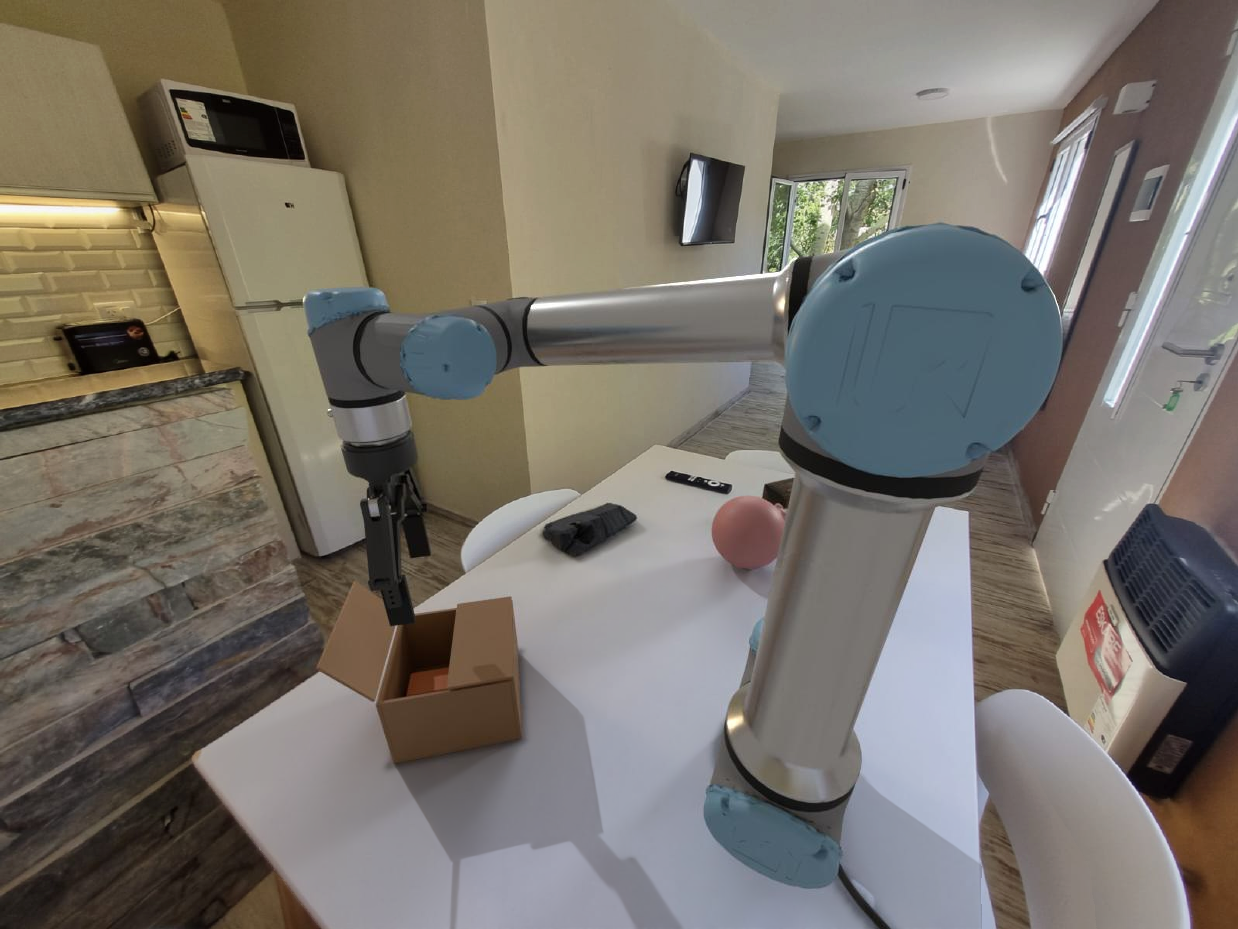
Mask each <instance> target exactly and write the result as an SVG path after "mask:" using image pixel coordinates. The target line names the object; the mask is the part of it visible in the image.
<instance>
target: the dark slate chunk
mask: <svg viewBox="0 0 1238 929" xmlns="http://www.w3.org/2000/svg"><path fill="white" fill-rule="evenodd" d="M637 519H638V516H637V514H635V513H634V512H632V511H631V510H630V509H627V508H626V507H625V506H623V505H621V504H617V503H612V502H606V503H604V504H602V505H599V506H598V507H597V506H596V507H595V508H591V509H588V510H585V511H580V512H577V513H573V514H570V515H566V516H564V517H562V518H561V517H560V518H558V519H556V520H554V521H550V522H548V523H546V524H545V525H544V527H543V529H544V530H542V532H541V533H542V536H543V538H544V539H545V540H548V541H549V542H550V543H551V544H552V545H553V547H555V548H556V549H558V550H559V551H562V552H567V554H570V555H572V556H573V557H575V556H576V557H579V556H581V555H583V553H585V552H587V551H588V550H591V549H593V548H595V547H598V545H601V544H603V543H605V542H606V541H607V540H608V539H609V538H611V537H613V536H615V535H617V534H618V533H619V532H621V531H623V530H624V529H626V528H627V527H628V526H630V525H631V524H633V523H635V522H636V521H637ZM575 539H579V540H580V541H581V542H583V543H586V544H580V543H579V542H578V541H576V540H575Z"/></svg>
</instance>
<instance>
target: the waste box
mask: <svg viewBox="0 0 1238 929" xmlns="http://www.w3.org/2000/svg"><path fill="white" fill-rule="evenodd" d="M415 618H416V619H415V623H410V624H403V625H397V626H396V628H395V631H394V635H393V639H392V642H391V646H390V650H389V653H388V657H387V658H388V659H387V661H386V664H385V665H386V666H385V668H384V672H383V675H382V679H381V682H380V684H381V685H380V686H379V690H378V693H377V694H378V695H377V697H376V698H377V699H376V702H375V708H376V711H377V714H378V718H379V721H380V724H381V728H382V732H383V733H384V737H385V740H386V744H387V746H388V750H389V752H390V756H391V760H392V763H393V764H400V763H405V762H409V761H416V760H419V759H425V758H431V757H436V756H440V755H445V754H451V753H456V752H460V751H465V750H471V749H476V748H481V747H486V746H491V745H496V744H500V743H507V742H511V741H517V740H521V739H523V736H522V735H523V734H522V705H521V704H522V703H521V682H520V681H521V680H520V679H521V678H520V677H521V676H520V652H519V644H518V636H517V627H516V617H515V610H514V601H513V598H512V596H503V597H495V598H490V599H481V600H476V601H468V602H461V603H460V602H459V603H457V604H456V607H453V608H445V609H439V610H432V611H431V610H430V611H424V612H419V613H418V612H417V613H415ZM447 667H449V673H448V681H447V690H443V691H437V692H431V693H425V694H420V695H414V696H408V697H407V696H406V695H407V690H408V686H409V681H410V676H411V673H417V672H423V671H429V670H435V669H441V668H447Z"/></svg>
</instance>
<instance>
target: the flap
mask: <svg viewBox="0 0 1238 929" xmlns="http://www.w3.org/2000/svg"><path fill="white" fill-rule="evenodd" d="M395 631H396V626H390V624H389V620H388V616H387V613H386V609H385V606H384V602H383V598H381V597H379V596H378V595H377V594H375V593H374V592H373V591H371V590H370V589H368V588H367V587H365V586H364V585H362V584H360V582H358V581H357V580H354V581H353V582H352V585H351V587H350V588H349V591H348V594H347V596H346V598H345V600H344V603H343V605H342V607H341V610H340V612H339V615H338V617H337V619H336V621H335V623H334V625H333V628H332V631H331V632H330V635H329V636H328V639H327V642H326V644H325V646H324V649H323V652H322V653H321V655H320V658H319V661H318V663H317V665H316V667H315V670H316V671H318V672H320V673H322V674H323V675H325V676H327V677H329V678H331V679H332V680H333V681H336V682H337V683H339V684H340V685H342V686H344V687H346V688H348V689H350V690H351V691H353V692H355V693H357V694H358V695H360V696H361V697H364V698H365V699H367V700H368V701H370V702H371V703H373V702H375V701H376V698H377V696H378V695H377V694H378V692H379V689H380V684H381V681H382V678H383V674H384V671H385V667H386V666H385V665H386V663H387V660H388V659H387V658H388V656H389V653H390V649H391V645H392V642H393V638H394V635H395Z"/></svg>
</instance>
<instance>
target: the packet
mask: <svg viewBox="0 0 1238 929" xmlns="http://www.w3.org/2000/svg"><path fill="white" fill-rule="evenodd" d="M448 673H449V667H447V668H441V669H435V670H429V671H423V672H417V673H411V676H410V681H409V686H408V690H407V695H406V696H407V697H408V696H414V695H420V694H425V693H431V692H437V691H443V690H447V681H448Z"/></svg>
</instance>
